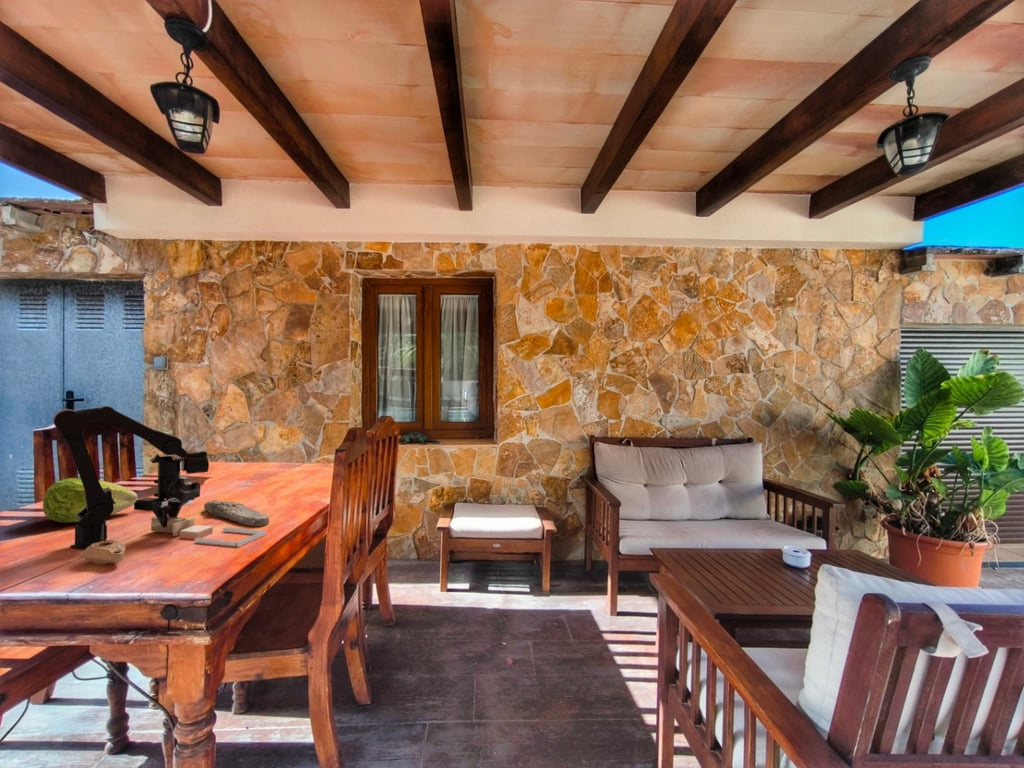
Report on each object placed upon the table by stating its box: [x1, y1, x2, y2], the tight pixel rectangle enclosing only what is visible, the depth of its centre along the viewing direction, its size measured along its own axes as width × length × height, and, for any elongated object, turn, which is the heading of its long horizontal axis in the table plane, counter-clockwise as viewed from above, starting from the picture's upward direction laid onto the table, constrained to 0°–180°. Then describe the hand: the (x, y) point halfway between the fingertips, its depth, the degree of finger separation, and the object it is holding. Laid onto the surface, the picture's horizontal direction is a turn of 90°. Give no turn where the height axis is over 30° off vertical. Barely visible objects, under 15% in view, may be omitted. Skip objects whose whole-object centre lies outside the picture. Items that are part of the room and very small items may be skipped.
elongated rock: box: [203, 499, 270, 527], centre depth 174 cm, size 35×5×10 cm
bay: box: [194, 526, 267, 548], centre depth 151 cm, size 12×14×1 cm
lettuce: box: [42, 477, 138, 524], centre depth 169 cm, size 17×24×14 cm
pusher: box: [150, 516, 195, 537], centre depth 156 cm, size 7×11×4 cm, turn 79°
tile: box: [179, 524, 214, 540], centre depth 154 cm, size 6×6×2 cm
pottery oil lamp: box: [80, 539, 127, 566], centre depth 130 cm, size 9×12×7 cm
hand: (168, 526), depth 156 cm, fingers closed on pusher, 2 cm apart
